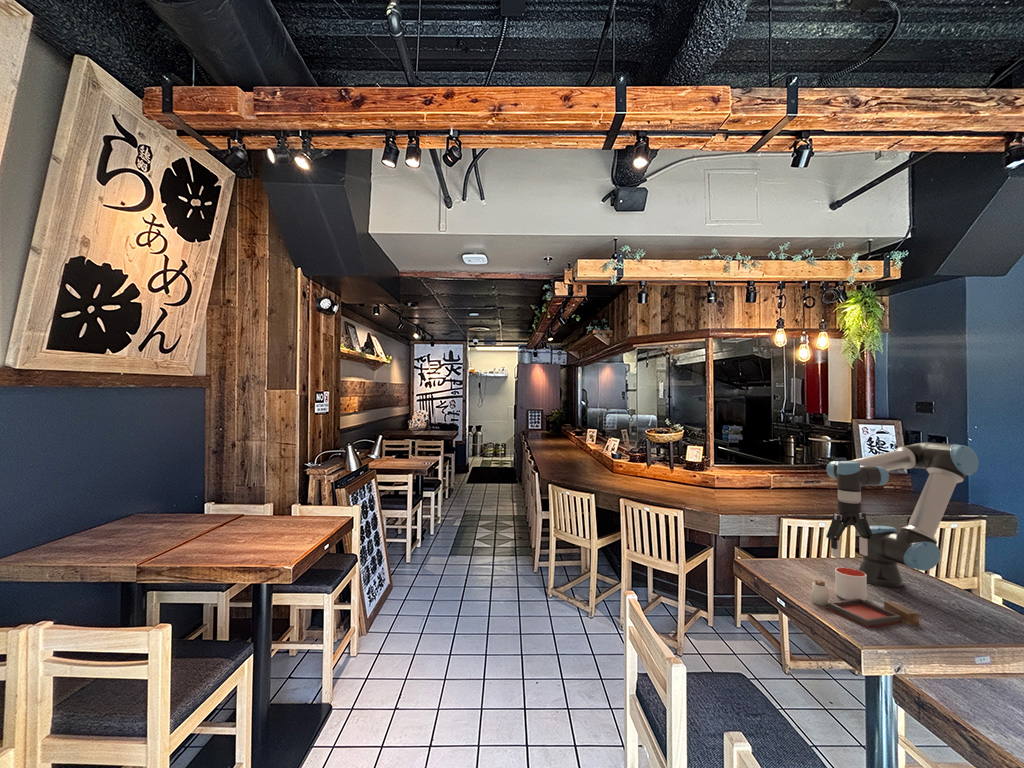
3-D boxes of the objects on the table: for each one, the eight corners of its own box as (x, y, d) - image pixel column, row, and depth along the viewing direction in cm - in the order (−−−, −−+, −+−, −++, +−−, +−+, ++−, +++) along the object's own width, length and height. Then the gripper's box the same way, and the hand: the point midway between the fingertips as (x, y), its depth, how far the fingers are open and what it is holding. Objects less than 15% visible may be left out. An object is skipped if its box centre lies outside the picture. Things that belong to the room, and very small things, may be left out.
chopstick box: (895, 612, 172) (895, 601, 172) (919, 625, 162) (918, 613, 162) (884, 612, 172) (884, 601, 172) (907, 625, 162) (907, 613, 162)
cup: (872, 604, 178) (872, 577, 179) (842, 602, 180) (842, 575, 181) (858, 593, 188) (858, 568, 188) (830, 591, 190) (830, 566, 191)
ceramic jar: (819, 599, 182) (819, 578, 183) (831, 605, 178) (831, 583, 178) (809, 601, 181) (808, 579, 181) (820, 606, 176) (820, 584, 177)
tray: (859, 605, 178) (859, 598, 178) (901, 623, 163) (901, 616, 163) (827, 609, 174) (827, 602, 174) (867, 628, 159) (867, 620, 160)
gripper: (864, 498, 192) (865, 550, 192) (815, 500, 186) (815, 555, 185) (883, 501, 185) (884, 556, 184) (832, 504, 179) (833, 561, 178)
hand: (849, 556), depth 185 cm, fingers open, 13 cm apart
